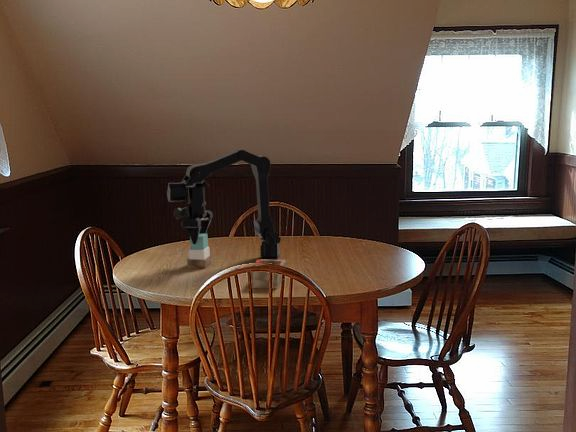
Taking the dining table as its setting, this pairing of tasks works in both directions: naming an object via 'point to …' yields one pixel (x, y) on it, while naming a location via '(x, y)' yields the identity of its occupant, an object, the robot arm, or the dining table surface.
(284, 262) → the bracket cradle
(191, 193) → the robot arm
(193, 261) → the walnut block
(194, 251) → the cream block
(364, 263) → the dining table surface
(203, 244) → the teal cube
